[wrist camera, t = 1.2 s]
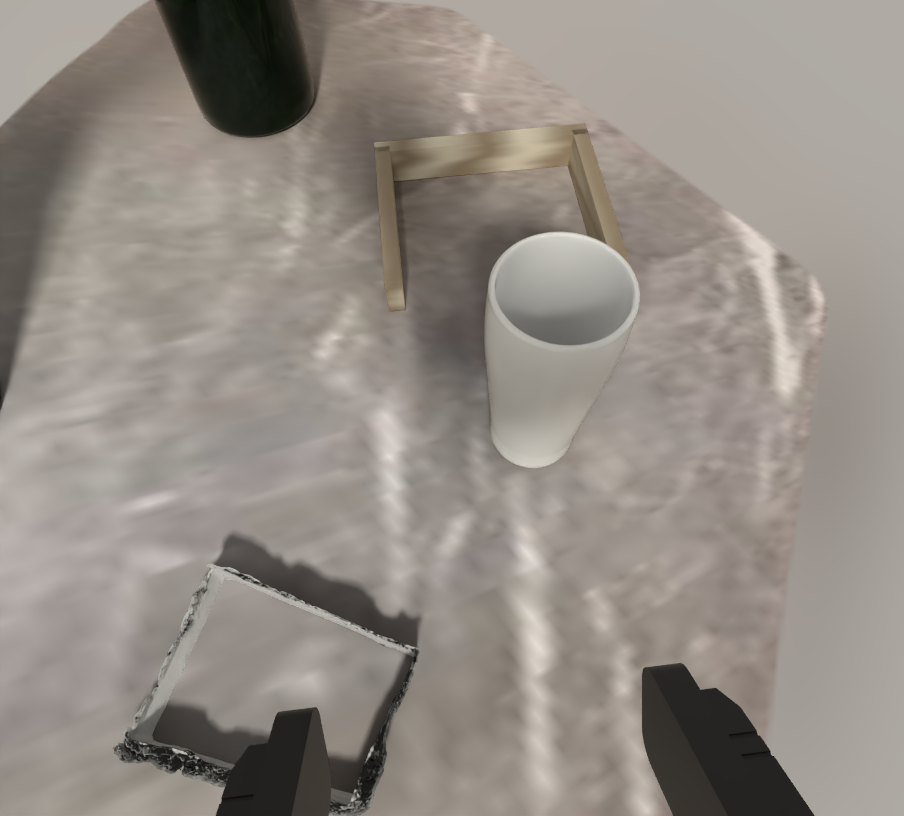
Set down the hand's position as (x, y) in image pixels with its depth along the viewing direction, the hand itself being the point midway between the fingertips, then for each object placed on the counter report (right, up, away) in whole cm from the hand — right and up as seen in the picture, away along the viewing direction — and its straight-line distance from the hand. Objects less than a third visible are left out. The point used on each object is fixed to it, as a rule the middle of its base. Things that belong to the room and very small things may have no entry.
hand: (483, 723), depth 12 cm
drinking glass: (+5, +4, +28) cm, 29 cm away
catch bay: (+2, +21, +36) cm, 42 cm away
